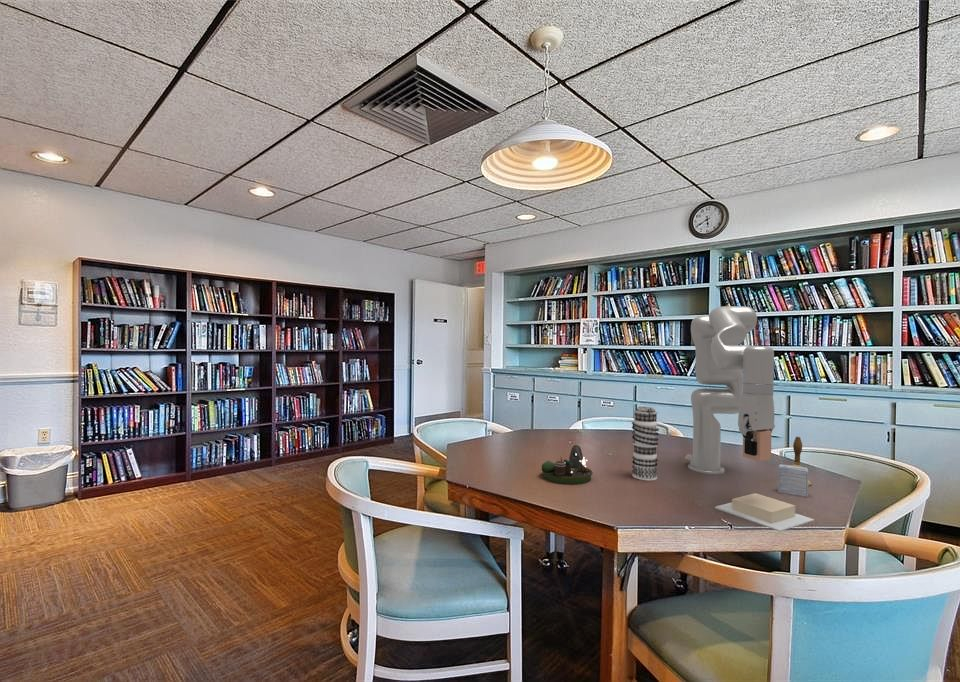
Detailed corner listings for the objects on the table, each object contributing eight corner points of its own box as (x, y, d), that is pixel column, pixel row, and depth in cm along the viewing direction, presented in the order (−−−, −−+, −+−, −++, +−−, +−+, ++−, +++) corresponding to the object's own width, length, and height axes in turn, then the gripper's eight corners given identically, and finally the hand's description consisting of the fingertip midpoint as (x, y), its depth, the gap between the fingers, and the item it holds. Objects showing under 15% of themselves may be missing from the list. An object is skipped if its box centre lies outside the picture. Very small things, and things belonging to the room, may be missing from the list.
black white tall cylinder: (626, 473, 166) (627, 405, 165) (651, 472, 166) (652, 405, 166) (637, 481, 156) (638, 409, 156) (662, 480, 157) (664, 409, 157)
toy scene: (602, 477, 160) (602, 448, 160) (573, 489, 148) (573, 457, 148) (561, 467, 173) (561, 439, 173) (531, 476, 161) (531, 447, 161)
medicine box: (807, 494, 145) (807, 467, 145) (808, 498, 141) (808, 470, 141) (778, 489, 149) (778, 463, 149) (778, 493, 146) (778, 466, 146)
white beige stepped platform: (715, 509, 131) (715, 496, 131) (748, 501, 138) (749, 488, 138) (780, 534, 115) (780, 518, 115) (814, 523, 122) (814, 508, 122)
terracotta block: (742, 456, 128) (743, 429, 128) (753, 455, 131) (753, 427, 131) (760, 461, 124) (760, 432, 124) (771, 459, 126) (771, 430, 126)
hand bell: (783, 477, 163) (784, 433, 163) (812, 482, 158) (813, 436, 157) (781, 482, 156) (782, 437, 156) (810, 487, 151) (811, 440, 151)
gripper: (762, 387, 134) (761, 447, 134) (725, 389, 127) (725, 453, 127) (789, 390, 128) (788, 453, 128) (752, 392, 120) (751, 460, 120)
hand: (756, 452), depth 127 cm, fingers closed on terracotta block, 5 cm apart
